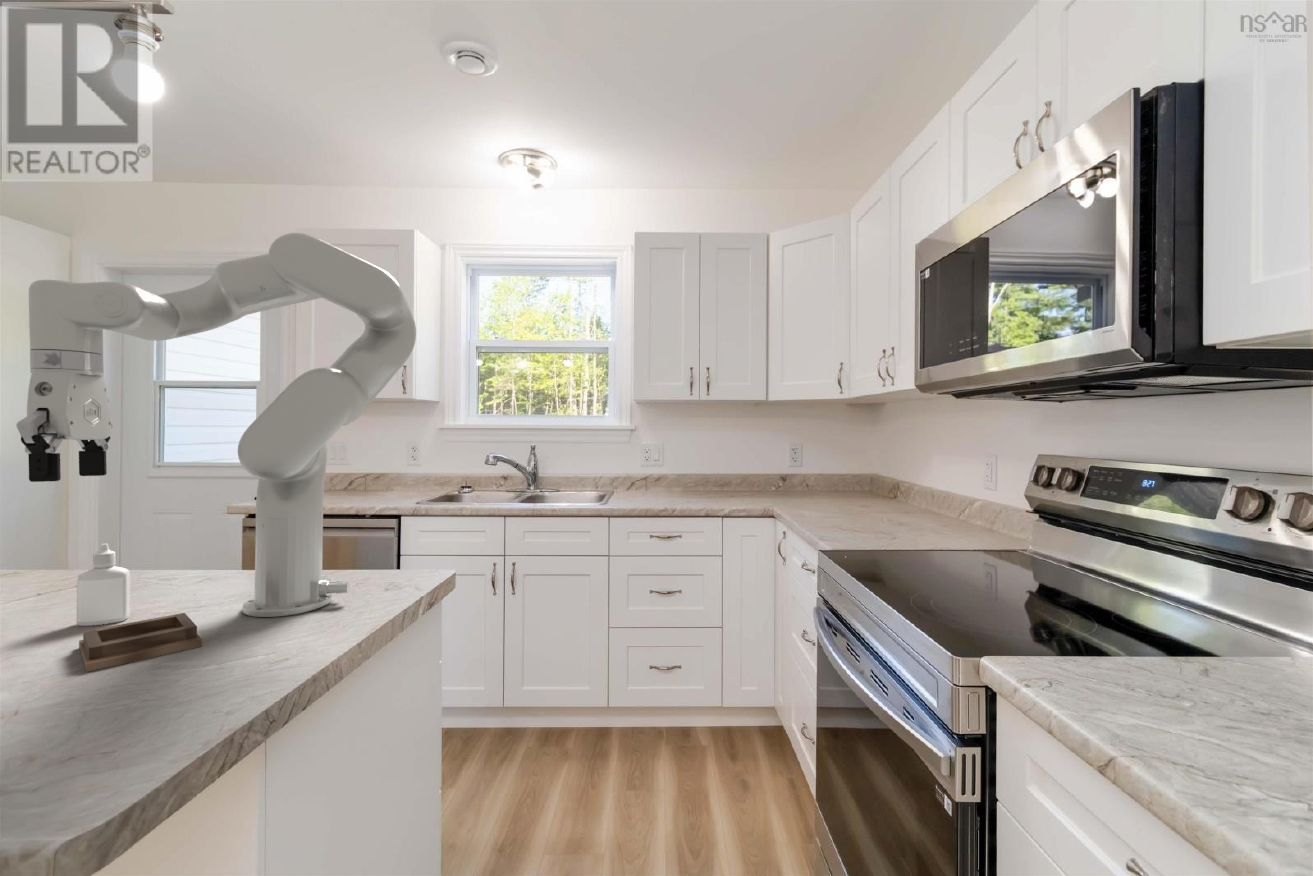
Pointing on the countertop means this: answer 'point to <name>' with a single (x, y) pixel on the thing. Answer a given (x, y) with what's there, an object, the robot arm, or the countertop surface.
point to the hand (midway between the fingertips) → (70, 478)
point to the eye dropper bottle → (103, 591)
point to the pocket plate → (137, 641)
